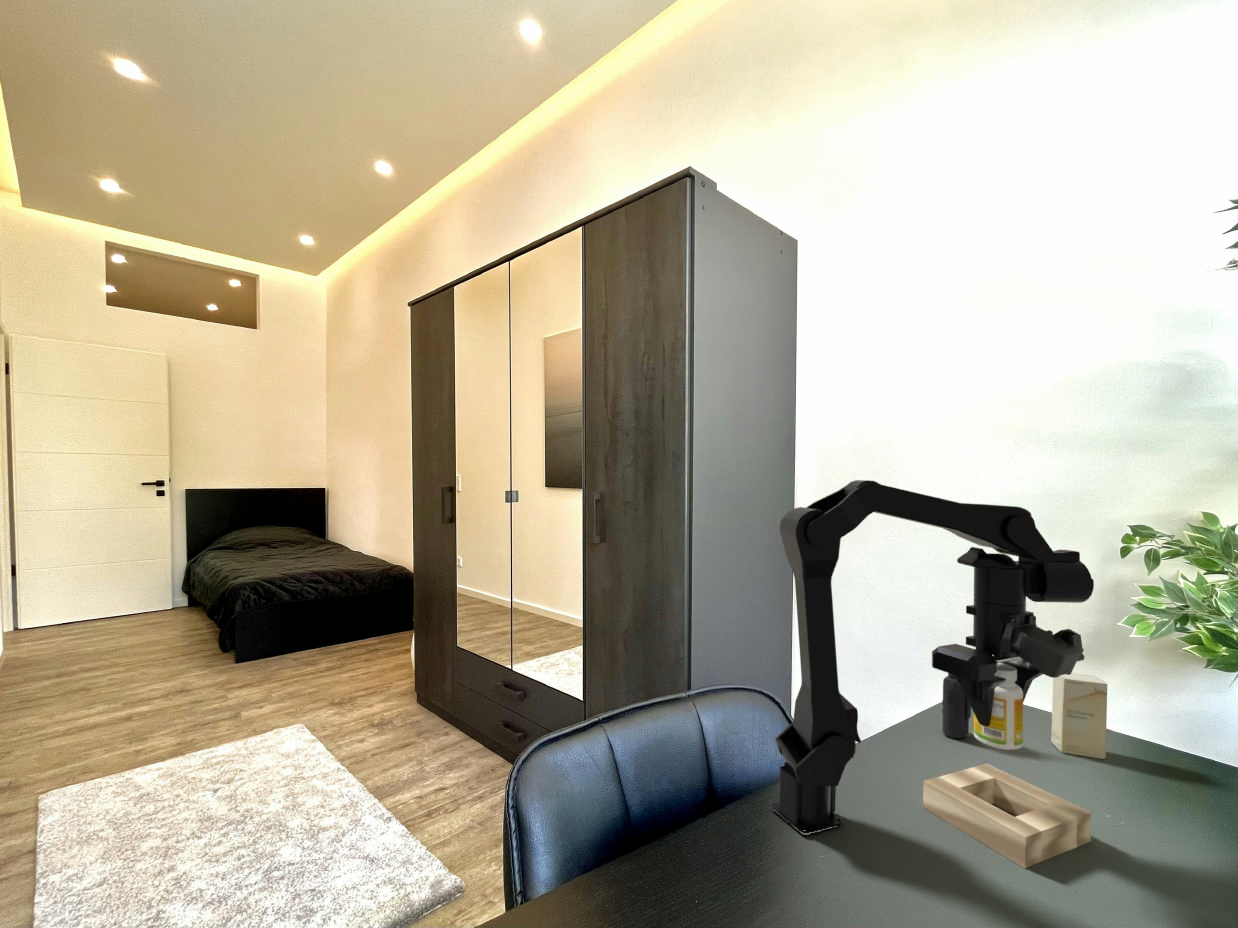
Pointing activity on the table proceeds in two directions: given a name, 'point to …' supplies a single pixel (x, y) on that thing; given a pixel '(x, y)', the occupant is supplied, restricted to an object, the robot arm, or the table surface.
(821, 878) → the table surface
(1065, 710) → the skincare box
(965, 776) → the socket block
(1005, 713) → the supplement bottle
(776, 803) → the robot arm
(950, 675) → the two-way radio
